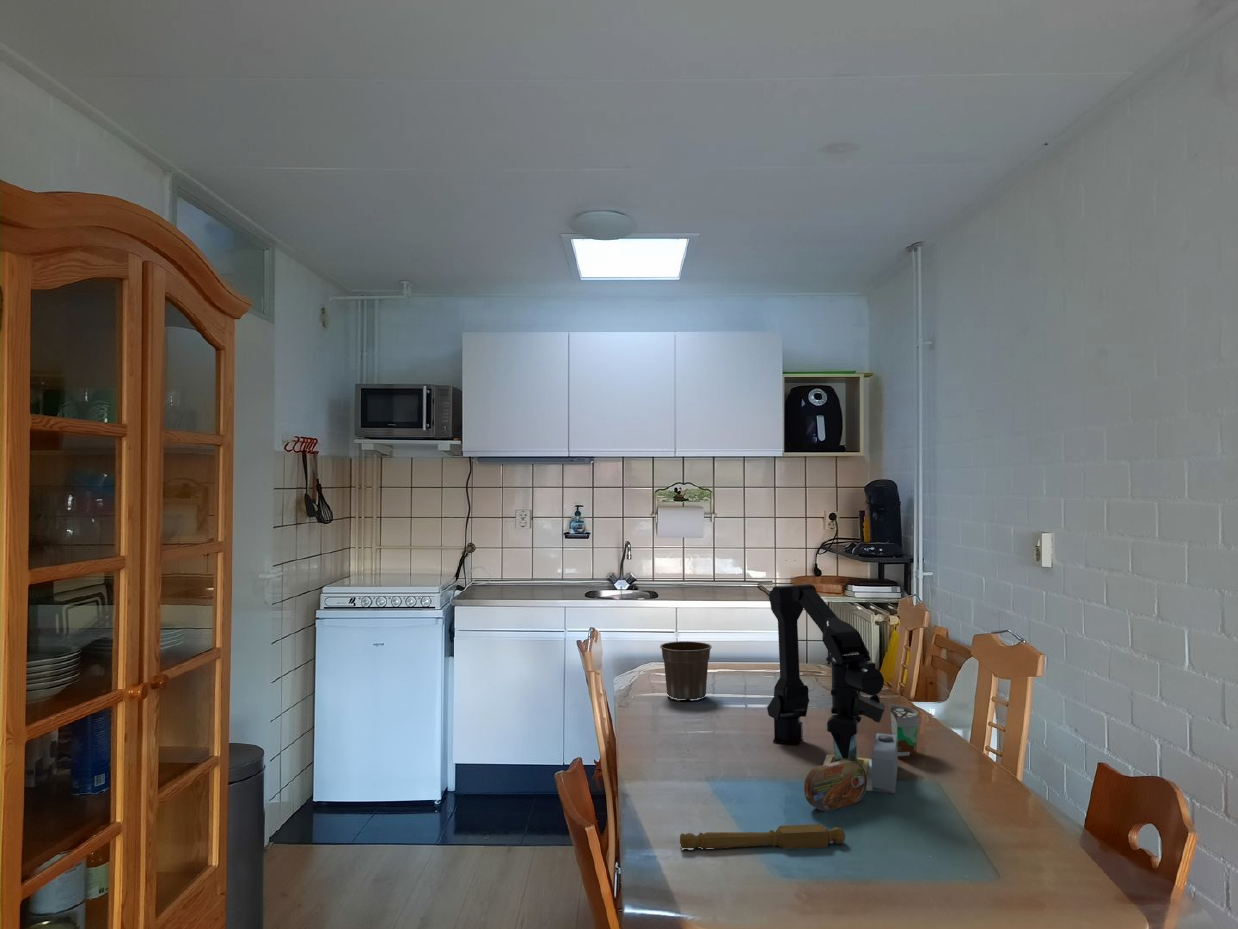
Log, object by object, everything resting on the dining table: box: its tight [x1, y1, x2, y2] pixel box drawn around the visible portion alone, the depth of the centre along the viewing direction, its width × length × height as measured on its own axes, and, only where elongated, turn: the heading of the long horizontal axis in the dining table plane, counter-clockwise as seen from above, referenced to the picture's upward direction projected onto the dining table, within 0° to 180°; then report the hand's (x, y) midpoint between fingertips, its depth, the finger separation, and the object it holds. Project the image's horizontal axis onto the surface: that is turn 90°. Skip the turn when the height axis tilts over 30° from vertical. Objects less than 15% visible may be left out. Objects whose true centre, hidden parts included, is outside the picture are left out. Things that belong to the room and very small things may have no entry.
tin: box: [803, 760, 867, 813], centre depth 157 cm, size 15×3×8 cm, turn 117°
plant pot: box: [659, 640, 712, 699], centre depth 243 cm, size 16×16×16 cm
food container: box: [889, 704, 921, 760], centre depth 187 cm, size 12×6×10 cm, turn 168°
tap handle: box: [679, 823, 846, 850], centre depth 139 cm, size 3×3×30 cm
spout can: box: [832, 734, 859, 763], centre depth 174 cm, size 5×5×10 cm
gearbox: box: [822, 732, 899, 795], centre depth 173 cm, size 16×18×8 cm
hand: (846, 754), depth 174 cm, fingers open, 6 cm apart
